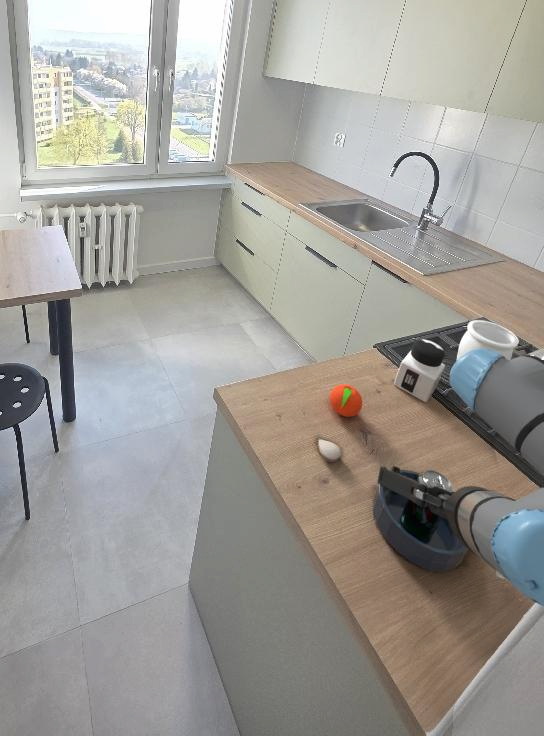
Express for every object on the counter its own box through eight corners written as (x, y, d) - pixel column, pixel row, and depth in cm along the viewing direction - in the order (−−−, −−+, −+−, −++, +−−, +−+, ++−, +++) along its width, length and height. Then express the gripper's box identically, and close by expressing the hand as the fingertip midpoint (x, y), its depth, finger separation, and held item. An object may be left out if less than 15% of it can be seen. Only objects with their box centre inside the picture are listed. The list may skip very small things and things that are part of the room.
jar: (458, 358, 117) (477, 314, 110) (502, 381, 109) (525, 336, 103) (442, 374, 111) (461, 328, 105) (487, 399, 103) (510, 352, 97)
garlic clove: (328, 467, 85) (330, 458, 84) (310, 447, 89) (312, 438, 88) (343, 459, 86) (346, 451, 85) (325, 440, 91) (327, 431, 90)
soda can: (422, 511, 77) (443, 468, 72) (438, 542, 72) (462, 497, 67) (395, 510, 77) (414, 466, 72) (409, 540, 72) (430, 495, 67)
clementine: (352, 432, 93) (360, 408, 90) (321, 415, 97) (328, 392, 94) (361, 409, 99) (369, 387, 96) (332, 394, 102) (338, 372, 100)
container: (426, 403, 101) (443, 362, 96) (392, 384, 106) (407, 344, 101) (436, 387, 106) (453, 347, 101) (404, 370, 111) (418, 331, 106)
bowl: (455, 510, 78) (465, 491, 76) (468, 592, 66) (480, 572, 64) (372, 476, 83) (379, 457, 81) (371, 545, 72) (379, 526, 69)
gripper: (370, 510, 53) (351, 485, 71) (636, 629, 43) (533, 564, 61) (382, 448, 55) (360, 439, 73) (637, 547, 45) (537, 508, 63)
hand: (439, 496), depth 67 cm, fingers open, 13 cm apart
